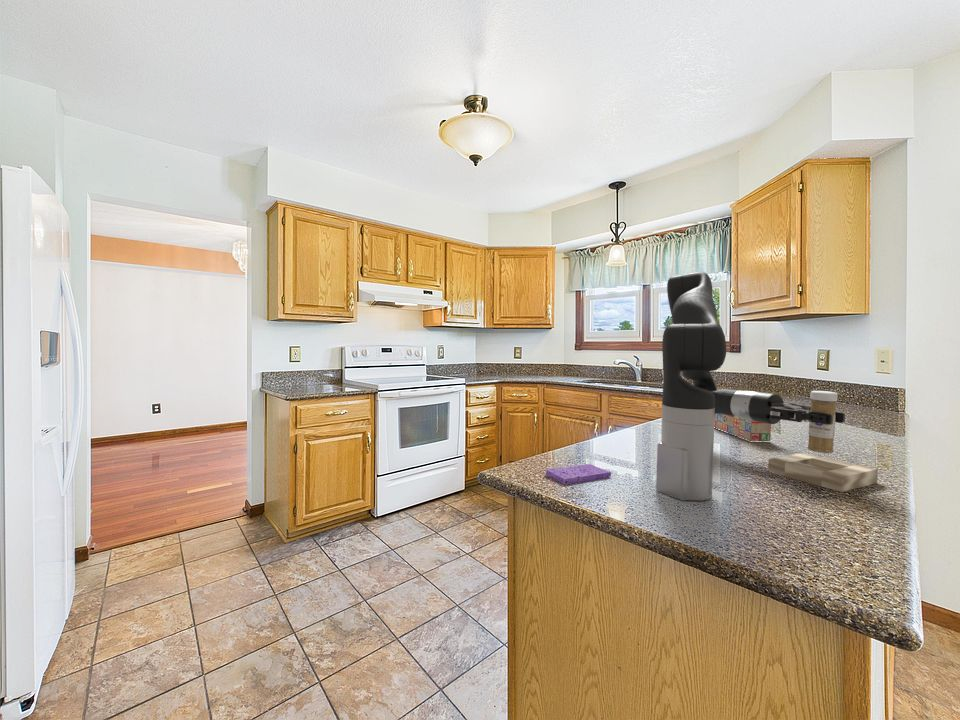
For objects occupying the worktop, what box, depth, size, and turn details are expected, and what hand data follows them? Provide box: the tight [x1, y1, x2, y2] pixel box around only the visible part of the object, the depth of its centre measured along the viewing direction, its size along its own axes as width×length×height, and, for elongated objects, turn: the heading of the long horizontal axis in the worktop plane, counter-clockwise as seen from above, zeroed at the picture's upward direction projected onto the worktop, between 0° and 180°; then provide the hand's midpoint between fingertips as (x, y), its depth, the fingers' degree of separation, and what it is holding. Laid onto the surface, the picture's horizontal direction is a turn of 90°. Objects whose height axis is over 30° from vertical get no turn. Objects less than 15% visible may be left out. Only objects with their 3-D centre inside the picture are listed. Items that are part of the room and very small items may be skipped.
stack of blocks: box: [714, 414, 772, 442], centre depth 134 cm, size 21×6×12 cm, turn 179°
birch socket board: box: [767, 452, 879, 493], centre depth 90 cm, size 14×14×3 cm
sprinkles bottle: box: [807, 390, 838, 454], centre depth 90 cm, size 5×5×14 cm
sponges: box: [545, 463, 612, 485], centre depth 89 cm, size 7×13×2 cm, turn 114°
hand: (837, 418), depth 88 cm, fingers closed on sprinkles bottle, 4 cm apart
